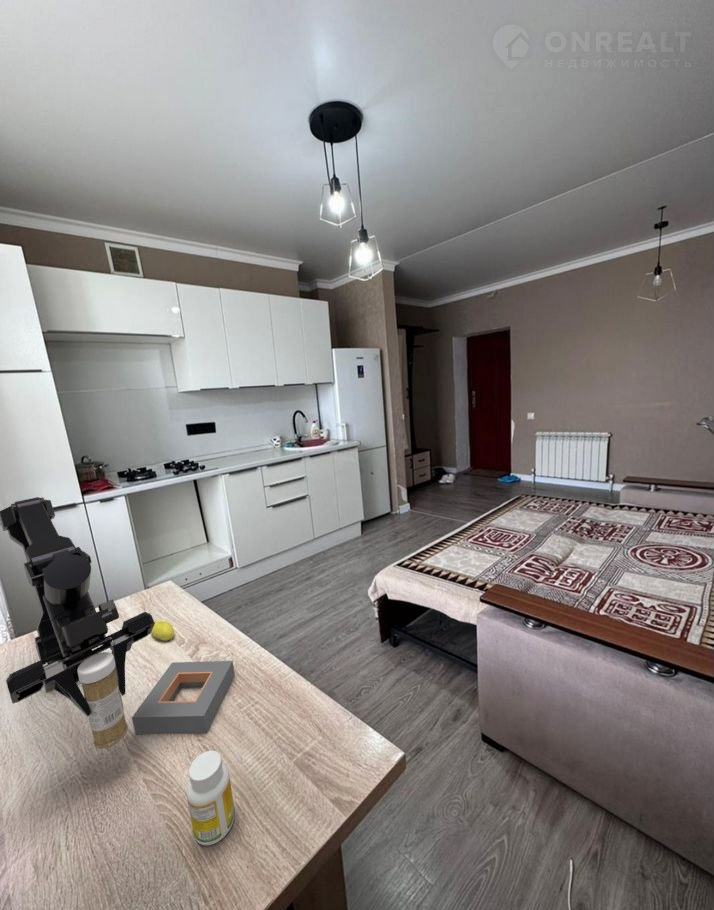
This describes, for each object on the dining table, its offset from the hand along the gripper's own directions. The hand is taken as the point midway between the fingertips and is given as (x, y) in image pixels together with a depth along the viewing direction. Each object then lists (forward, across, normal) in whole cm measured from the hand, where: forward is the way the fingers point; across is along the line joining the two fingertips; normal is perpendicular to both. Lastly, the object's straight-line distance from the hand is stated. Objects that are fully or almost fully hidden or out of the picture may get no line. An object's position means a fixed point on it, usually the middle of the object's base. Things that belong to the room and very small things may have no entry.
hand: (106, 704), depth 56 cm
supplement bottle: (+22, +6, -4) cm, 23 cm away
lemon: (-12, +18, +31) cm, 38 cm away
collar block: (+6, +13, +12) cm, 19 cm away
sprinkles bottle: (+4, 0, +6) cm, 7 cm away
